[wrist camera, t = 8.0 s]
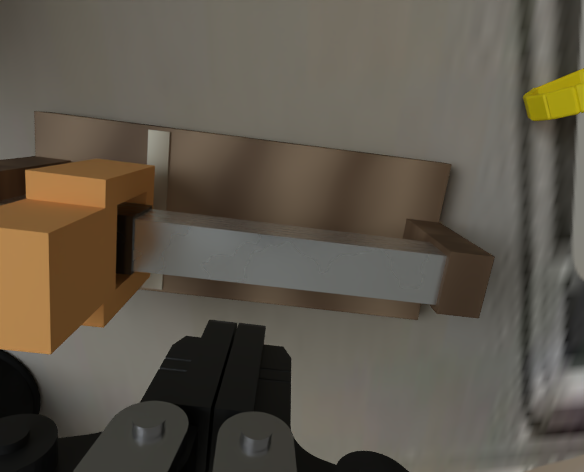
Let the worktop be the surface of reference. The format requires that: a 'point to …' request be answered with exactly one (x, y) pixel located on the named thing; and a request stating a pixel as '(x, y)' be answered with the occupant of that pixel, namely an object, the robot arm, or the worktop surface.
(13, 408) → the aerosol can
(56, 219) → the collar
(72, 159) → the rig
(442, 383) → the worktop surface
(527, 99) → the watch
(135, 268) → the grey square bar
